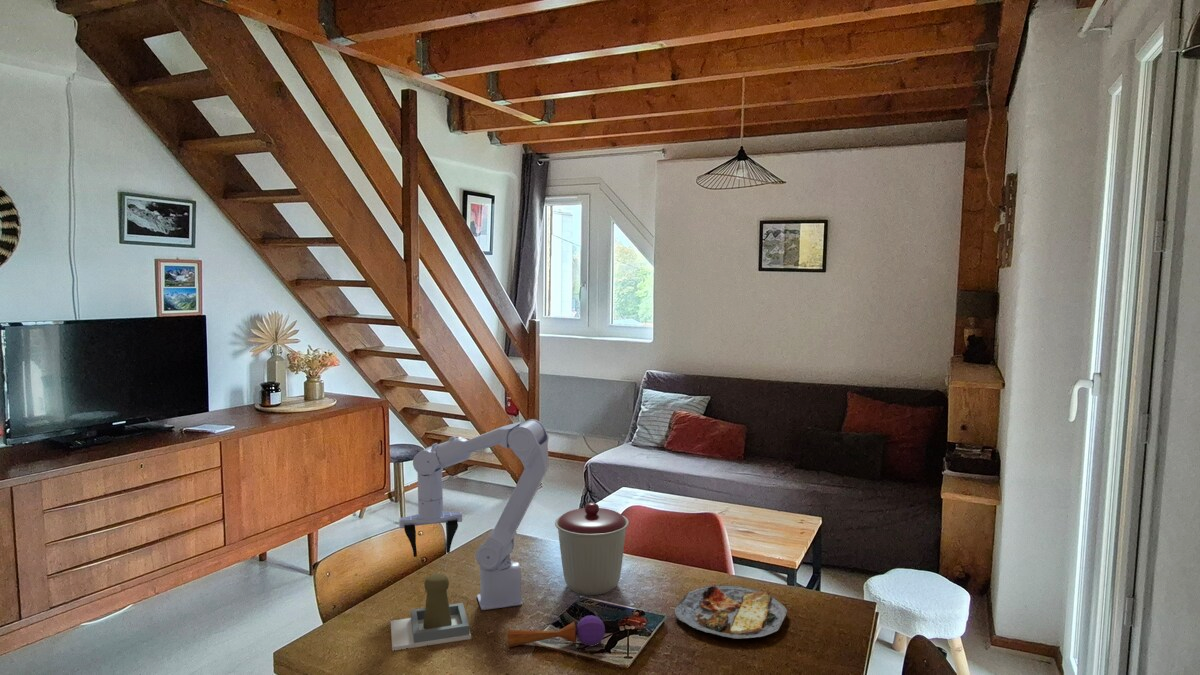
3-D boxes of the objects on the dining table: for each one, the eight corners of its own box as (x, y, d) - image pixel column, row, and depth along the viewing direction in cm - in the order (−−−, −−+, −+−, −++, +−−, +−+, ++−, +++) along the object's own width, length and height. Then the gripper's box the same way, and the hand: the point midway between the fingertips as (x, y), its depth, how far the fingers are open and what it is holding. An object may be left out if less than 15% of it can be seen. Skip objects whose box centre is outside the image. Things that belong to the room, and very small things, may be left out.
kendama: (509, 619, 152) (603, 610, 153) (511, 648, 152) (605, 639, 152) (506, 627, 146) (604, 618, 147) (508, 658, 146) (606, 648, 146)
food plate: (699, 585, 178) (699, 571, 177) (794, 604, 167) (795, 590, 167) (662, 632, 155) (662, 617, 155) (770, 658, 145) (770, 641, 145)
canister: (544, 580, 181) (543, 498, 180) (607, 566, 190) (607, 488, 188) (574, 608, 165) (573, 519, 164) (642, 593, 174) (642, 508, 172)
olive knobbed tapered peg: (448, 631, 153) (447, 581, 152) (419, 631, 153) (418, 581, 152) (454, 618, 159) (453, 570, 158) (427, 618, 159) (426, 570, 158)
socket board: (464, 613, 163) (463, 601, 163) (471, 638, 152) (470, 626, 151) (390, 624, 158) (390, 612, 158) (392, 650, 147) (391, 637, 147)
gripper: (459, 490, 177) (460, 544, 178) (398, 495, 172) (399, 550, 173) (462, 498, 170) (463, 554, 171) (399, 504, 166) (400, 561, 167)
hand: (431, 553), depth 172 cm, fingers open, 7 cm apart
